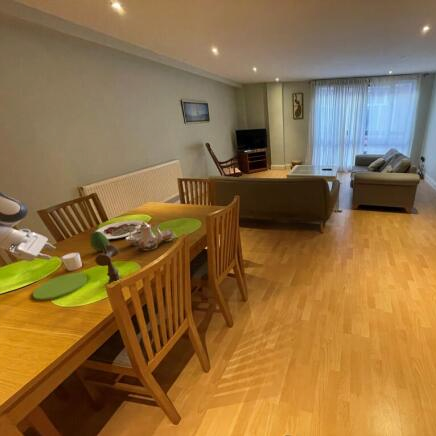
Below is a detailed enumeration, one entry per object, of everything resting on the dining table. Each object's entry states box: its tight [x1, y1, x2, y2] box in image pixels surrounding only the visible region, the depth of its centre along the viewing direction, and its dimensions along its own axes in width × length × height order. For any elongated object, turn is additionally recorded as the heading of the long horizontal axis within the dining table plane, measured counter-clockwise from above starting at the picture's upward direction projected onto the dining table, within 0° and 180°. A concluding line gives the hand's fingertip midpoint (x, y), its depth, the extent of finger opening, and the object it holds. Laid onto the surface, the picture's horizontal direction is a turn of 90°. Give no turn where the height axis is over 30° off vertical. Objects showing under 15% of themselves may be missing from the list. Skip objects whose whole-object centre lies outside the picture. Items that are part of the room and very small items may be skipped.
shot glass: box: [60, 251, 83, 272], centre depth 120 cm, size 7×7×7 cm
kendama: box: [95, 243, 123, 284], centre depth 107 cm, size 6×10×20 cm, turn 17°
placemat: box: [32, 272, 88, 301], centre depth 107 cm, size 18×18×1 cm
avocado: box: [90, 230, 110, 252], centre depth 135 cm, size 8×8×12 cm
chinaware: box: [123, 221, 177, 252], centre depth 141 cm, size 28×17×17 cm, turn 113°
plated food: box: [94, 219, 147, 240], centre depth 161 cm, size 30×30×3 cm
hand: (53, 253), depth 116 cm, fingers open, 8 cm apart
